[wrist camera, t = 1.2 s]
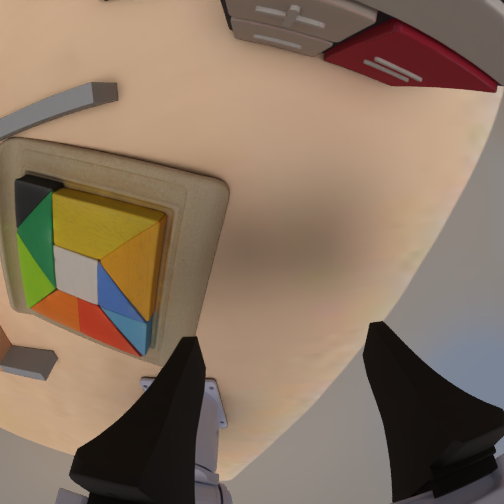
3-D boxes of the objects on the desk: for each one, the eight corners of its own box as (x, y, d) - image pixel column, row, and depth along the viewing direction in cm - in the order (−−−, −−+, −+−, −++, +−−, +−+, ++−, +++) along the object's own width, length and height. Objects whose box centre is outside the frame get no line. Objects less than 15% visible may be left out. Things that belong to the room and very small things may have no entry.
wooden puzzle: (9, 133, 17) (-20, 143, 14) (235, 176, 20) (232, 192, 17) (21, 304, 25) (5, 325, 22) (190, 357, 28) (184, 386, 25)
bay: (181, 365, 28) (175, 394, 24) (10, 351, 28) (-2, 370, 25) (116, 82, 16) (91, 82, 13) (-66, 163, 17) (-88, 175, 14)
